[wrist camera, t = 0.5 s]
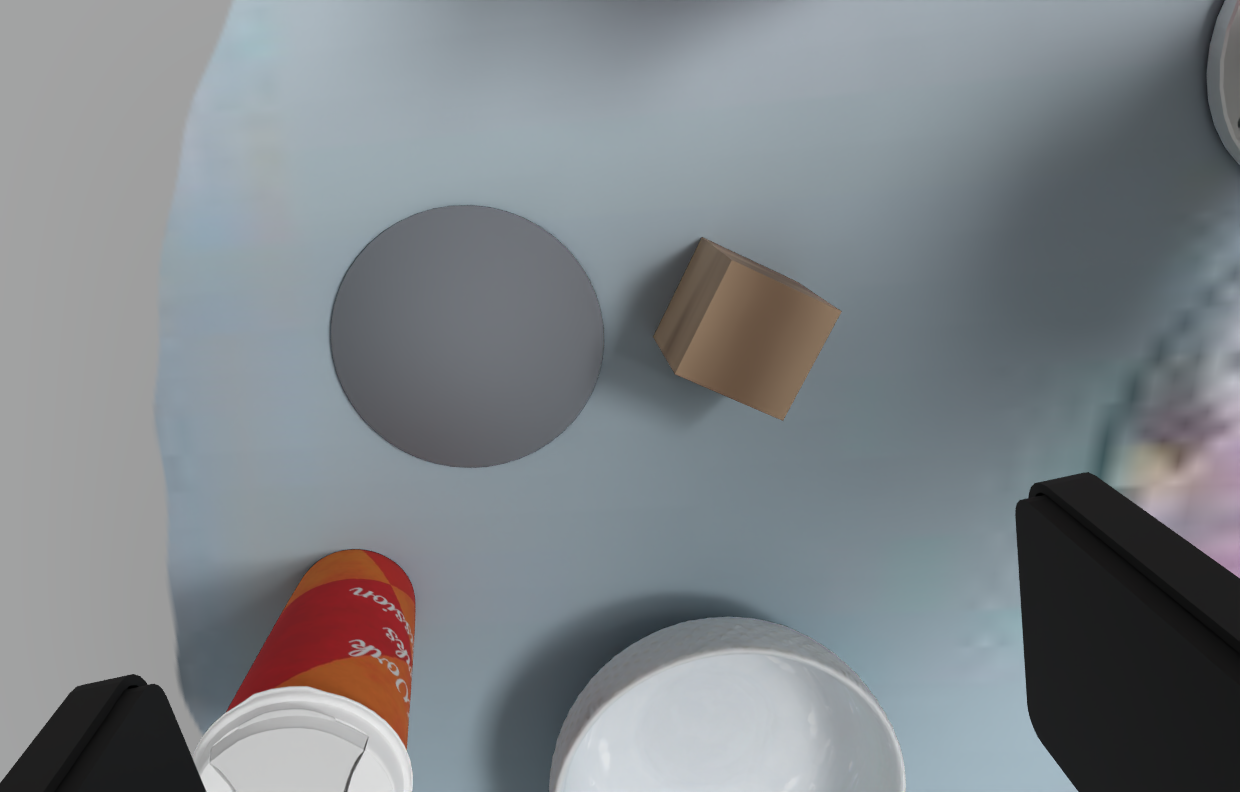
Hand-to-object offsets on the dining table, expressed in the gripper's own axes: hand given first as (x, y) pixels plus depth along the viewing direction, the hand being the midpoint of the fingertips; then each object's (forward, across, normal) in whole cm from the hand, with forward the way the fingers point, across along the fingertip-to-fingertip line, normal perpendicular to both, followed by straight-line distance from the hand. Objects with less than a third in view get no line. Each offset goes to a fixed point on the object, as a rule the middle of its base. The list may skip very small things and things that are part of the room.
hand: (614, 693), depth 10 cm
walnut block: (+33, -7, +5) cm, 34 cm away
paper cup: (+33, +13, +15) cm, 38 cm away
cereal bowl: (+33, -2, +26) cm, 42 cm away
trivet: (+33, +5, +4) cm, 33 cm away
